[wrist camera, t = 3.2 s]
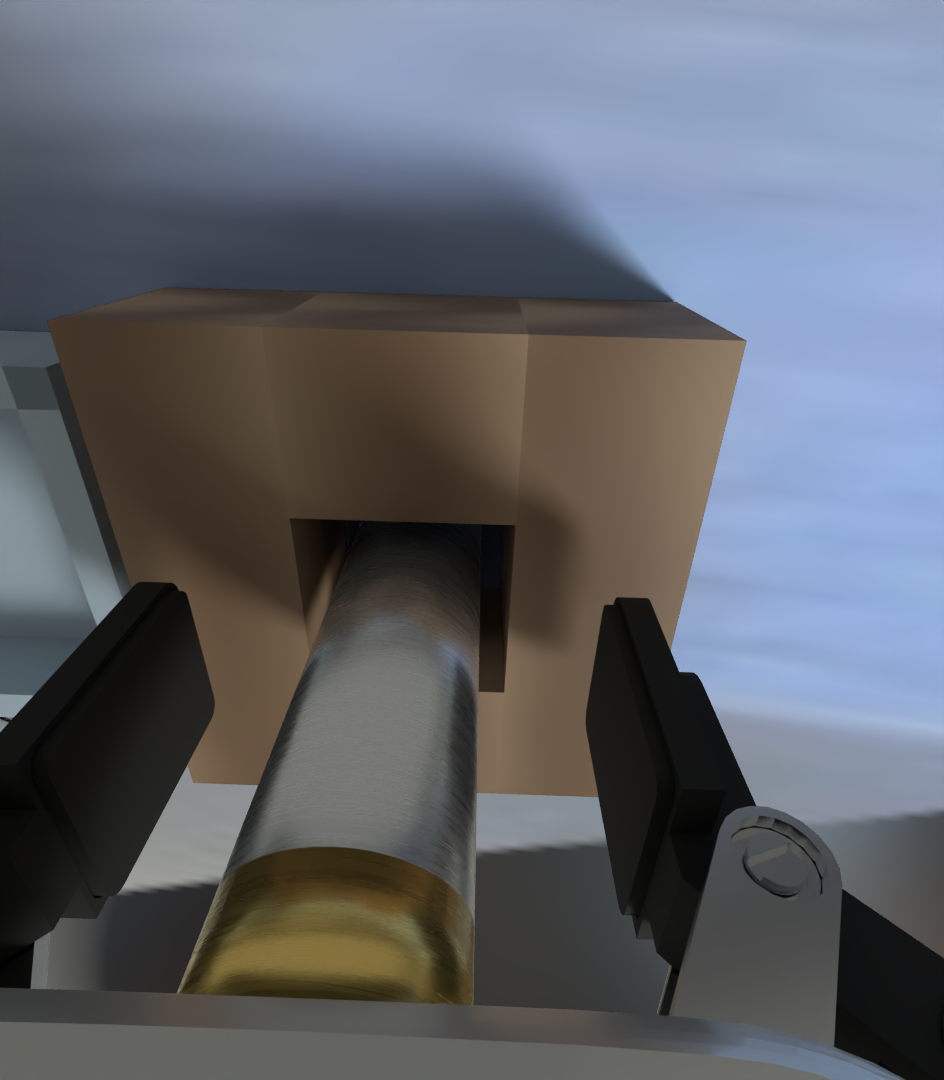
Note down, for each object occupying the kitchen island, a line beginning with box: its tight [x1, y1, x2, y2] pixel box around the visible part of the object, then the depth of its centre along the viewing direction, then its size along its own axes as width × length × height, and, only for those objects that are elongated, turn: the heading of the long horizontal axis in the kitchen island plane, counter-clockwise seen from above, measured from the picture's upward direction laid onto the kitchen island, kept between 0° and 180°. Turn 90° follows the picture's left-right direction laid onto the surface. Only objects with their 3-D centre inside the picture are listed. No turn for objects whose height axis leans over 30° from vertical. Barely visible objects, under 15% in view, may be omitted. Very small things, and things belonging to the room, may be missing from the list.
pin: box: [177, 521, 482, 1005], centre depth 11 cm, size 3×3×12 cm
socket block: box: [47, 288, 746, 797], centre depth 14 cm, size 11×11×4 cm
